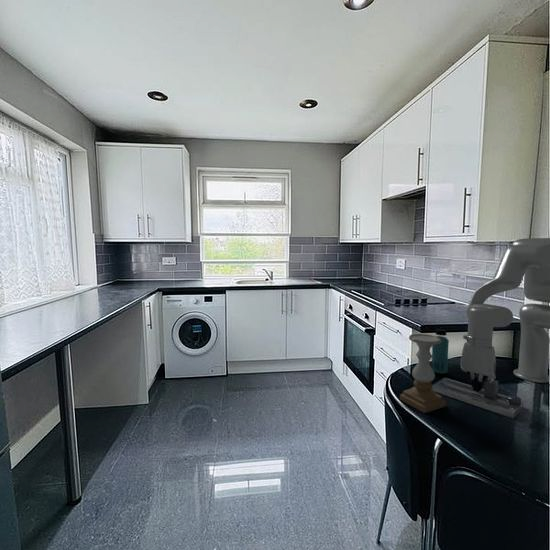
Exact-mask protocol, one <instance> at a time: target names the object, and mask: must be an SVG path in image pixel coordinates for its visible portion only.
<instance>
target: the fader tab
mask: <svg viewBox="0 0 550 550" xmlns="http://www.w3.org/2000/svg"><path fill="white" fill-rule="evenodd" d="M483 389H484V397H488V398H491V399H494V400H495V399H496V398H497V395H498V392H499V380H495V379H485V380H484V387H483Z"/></svg>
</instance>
